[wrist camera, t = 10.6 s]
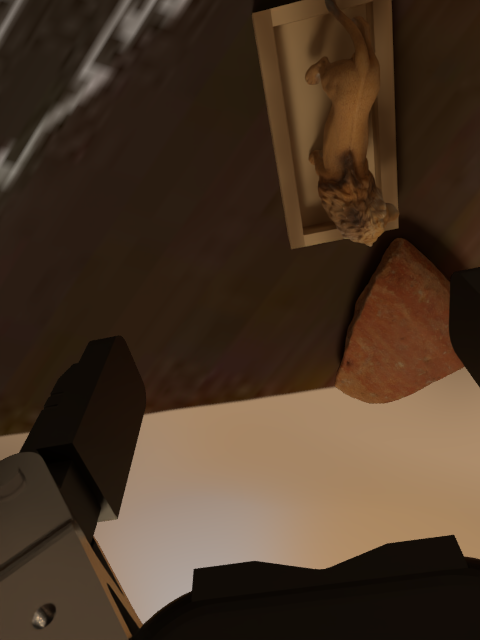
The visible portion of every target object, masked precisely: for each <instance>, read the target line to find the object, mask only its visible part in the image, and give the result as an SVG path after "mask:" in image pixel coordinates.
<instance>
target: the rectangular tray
mask: <svg viewBox="0 0 480 640" xmlns="http://www.w3.org/2000/svg"><path fill="white" fill-rule="evenodd" d="M335 1H336V4H337V6H338V8H339V9H340V10H341V11H342V12H343V13H344V14H345V15H346V16H347V17H349V18H350V19H352V18H353V17H355V16H362V17H363V18H364V19H365V20H366V21H367V22H368V24H369V26H370V39H371V46H372V48H373V51H374V53H375V55H376V57H377V59H378V61H379V65H380V90H379V93H378V95H377V97H376V99H375V101H374V103H373V105H372V107H371V110H370V112H369V117H368V124H369V142H368V149H367V154H366V158H367V160H368V166H369V170H370V172H371V173H372V174H373V177H374V179H375V184H376V187H378V188H379V189H381V191H382V195H383V200H384V202H385V203H391V204H393V205H394V206H395V207H396V209H397V210H398V194H397V161H396V129H395V96H394V63H393V31H392V0H335ZM252 20H253V26H254V32H255V38H256V44H257V50H258V56H259V62H260V69H261V75H262V81H263V87H264V93H265V99H266V105H267V111H268V117H269V123H270V129H271V135H272V141H273V147H274V153H275V159H276V165H277V171H278V177H279V183H280V189H281V195H282V201H283V207H284V213H285V219H286V225H287V231H288V237H289V242H290V246H291V249H294V248H300V247H305V246H310V245H315V244H320V243H325V242H330V241H335V240H341V239H345V238H343V236H342V234H341V232H340V231H339V230H338V229H337V228H336V224H335V223H334V221H333V220H332V219H331V218H330V217H329V216H328V214H327V212H326V210H325V209H324V207H323V206H322V204H321V198H320V197H319V193H318V181H319V176H318V175H317V174H316V171H315V165H312V164H311V163H310V162H309V155H310V154H311V153H312V152H313V151H314V150H322V151H323V140H324V128H325V124H326V121H327V118H328V115H329V113H330V110H331V106H332V100H331V99H330V98H329V97H328V95H327V93H326V92H325V91H324V90H323V88H322V84H321V81H320V82H319V84H317V85H309V84H308V83H307V82H306V80H305V74H306V72H307V70H308V69H309V67H310V66H312V65H313V64H315V63H317V62H318V61H319V60H320V59H321V58H322V57H324V56H325V57H328V59H329V62H330V63H332V62H335V61H338V60H342V59H351V57H352V55H353V54H354V53H355V48H354V44H353V41H352V39H351V37H350V36H349V33H348V32H347V30H346V29H345V27H344V26H343V25H342V24H341V23H340V22H339V21H338V20H336V19H335V17H334V16H332V15H331V14H330V13H329V11H328V9H327V7H326V5H325V0H302V1H298V2H294V3H291V4H287V5H283V6H279V7H275V8H271V9H267V10H264V11H260V12H256V13H252ZM397 228H399V226H398V218H397V219H396V220H395V221H392V222H389V223H387V225H386V227H385V230H384V231H387V230H392V229H397Z"/></svg>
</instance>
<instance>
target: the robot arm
mask: <svg viewBox="0 0 480 640" xmlns="http://www.w3.org/2000/svg"><path fill="white" fill-rule="evenodd" d="M449 336H450V341H451V344H452V347H453V349H454V352H455V353H456V355H457V356H458V358H459V359H460V360H461V362H462V363H463V365H464V366H465V367H466V369H467V370H468V372H469V373H470V374H471V376H472V377H473V379H474V380H475V381H476V383H477V384H478V386H479V387H480V267H478V268H473V269H468V270H462V271H457V272H454V273H453V274H452V276H451V280H450V302H449ZM145 407H146V392H145V387H144V383H143V381H142V378H141V376H140V374H139V371H138V369H137V367H136V364H135V362H134V360H133V357H132V355H131V353H130V350H129V348H128V346H127V344H126V341H125V340H124V338H123V337H121V336H114V337H109V338H104V339H98V340H93V341H90V342H89V343H88V345H87V347H86V349H85V351H84V353H83V355H82V357H81V359H80V361H79V363H76V364H73V365H72V366H71V367H70V368H69V369H68V370H67V371H66V372H65V373H64V374H63V375H62V376H61V377H60V378H59V379H58V381H57V383H56V384H55V386H54V388H53V390H52V392H51V397H49V398H48V399H47V401H46V403H45V405H44V410H42V411H41V413H40V414H39V416H38V418H37V420H36V422H35V424H34V426H33V428H32V430H31V431H30V433H29V435H28V437H27V439H26V441H25V443H24V445H23V446H22V448H21V450H20V452H19V453H18V454H14V455H12V456H9V457H7V458H5V459H3V460H1V461H0V640H480V559H476V558H470V557H464V556H463V554H462V551H461V549H460V547H459V545H458V542H457V540H456V538H455V536H454V535H449V536H442V537H434V538H426V539H419V540H411V541H404V542H396V543H388V544H385V545H383V546H380V547H378V548H376V549H373V550H371V551H368V552H366V553H363V554H361V555H359V556H356V557H354V558H351V559H349V560H346V561H344V562H342V563H339V564H337V565H335V566H332V567H330V568H326V569H320V570H319V569H310V568H302V567H295V566H288V565H280V564H273V563H265V562H259V561H251V562H243V563H236V564H228V565H220V566H214V567H206V568H198V569H194V574H193V585H192V591H191V592H189V593H187V594H184V595H182V596H181V597H179V598H177V599H175V600H174V601H172V602H170V603H169V604H167V605H166V606H165V607H163V608H162V609H161V610H159V611H158V612H157V613H155V614H154V615H153V616H152V617H151V618H150V619H149V620H148V621H147V622H145V623H144V624H142V623H141V621H140V619H139V618H138V616H137V614H136V613H135V611H134V609H133V607H132V606H131V604H130V602H129V600H128V598H127V596H126V594H125V592H124V591H123V589H122V587H121V585H120V583H119V581H118V579H117V578H116V576H115V574H114V572H113V570H112V568H111V566H110V564H109V563H108V561H107V559H106V557H105V555H104V553H103V551H102V550H101V548H100V546H99V544H98V542H97V541H96V539H95V538H94V536H93V535H94V532H95V528H96V525H97V522H102V521H109V520H116V519H118V515H119V511H120V507H121V503H122V499H123V495H124V491H125V487H126V483H127V479H128V474H129V471H130V467H131V462H132V459H133V455H134V451H135V447H136V443H137V439H138V435H139V431H140V427H141V423H142V419H143V415H144V411H145Z"/></svg>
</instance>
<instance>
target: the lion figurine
mask: <svg viewBox="0 0 480 640" xmlns="http://www.w3.org/2000/svg"><path fill="white" fill-rule="evenodd" d="M325 5H326V7H327V9H328V11H329V13H330V14H331V15H332V16H334V17H335V19H336V20H338V21H339V22H340V23H341V24H342V25H343V26H344V27H345V29H346V30H347V32H348V33H349V36H350V37H351V39H352V41H353V44H354V48H355V53H354V54H353V55H352V57H351V59H342V60H338V61H335V62H332V63H330V62H329V59H328V57H325V56H324V57H322V58H321V59H320V60H319V61H318V62H317V63H315V64H313V65H312V66H310V67H309V69H308V70H307V72H306V74H305V80H306V82H307V83H308V84H309V85H317V84H319V82H320V81H321V84H322V88H323V90H324V91H325V92H326V93H327V95H328V97H329V98H330V99H331V100H332V106H331V110H330V113H329V115H328V118H327V121H326V124H325V128H324V140H323V151H322V150H314V151H313V152H312V153H311V154H310V155H309V162H310V163H311V164H312V165H315V171H316V174H317V175H318V176H319V181H318V193H319V197H320V198H321V204H322V206H323V207H324V209H325V210H326V212H327V214H328V216H329V217H330V218H331V219H332V220H333V221H334V223H335V224H336V228H337V229H338V230H339V231H340V232H341V234H342V236H343V238H345V239H350V240H351V241H353V242H359V243H365V244H366V245H368V246H372V244H373V242H375V241H376V240H377V237H379V236H380V235H381V234H382V233H383V232H384V230H385V227H386V225H387V223H389V222H392V221H395V220H396V219H397V218H398V216H399V211H398V210H397V209H396V207H395V206H394V205H393V204H391V203H385V202H384V200H383V195H382V191H381V189H379V188H378V187H376V184H375V179H374V177H373V174H372V173H371V172H370V170H369V166H368V160H367V158H366V154H367V149H368V142H369V124H368V117H369V112H370V110H371V107H372V105H373V103H374V101H375V99H376V97H377V95H378V93H379V90H380V65H379V61H378V59H377V57H376V55H375V53H374V51H373V48H372V46H371V39H370V26H369V24H368V22H367V21H366V20H365V19H364V18H363V17H362V16H355V17H353V18H352V19H350V18H349V17H347V16H346V15H345V14H344V13H343V12H342V11H341V10H340V9H339V8H338V6H337V4H336V1H335V0H325Z"/></svg>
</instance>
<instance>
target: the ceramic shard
mask: <svg viewBox="0 0 480 640" xmlns="http://www.w3.org/2000/svg"><path fill="white" fill-rule="evenodd" d="M449 302H450V282H449V281H448V280H447V279H446V278H445V276H444V275H443V274H442V273H441V272H440V271H439V270H438V269H437V268H436V267H435V266H434V264H433V263H432V262H431V261H430V260H429V259H428V258H426V257H425V256H424V255H423V254H422V253H421V252H420V251H419V250H417V249H416V248H415V246H413V245H412V244H411V243H410V242H408V241H407V240H405V239H403V238H396V239H395V240H394V241H392V242H391V244H390V246H389V247H388V248H387V249H386V251H385V253H384V255H383V257H382V259H381V262H380V264H379V265H378V267H377V269H376V271H375V273H374V274H373V275H372V276H371V278H370V281H369V283H368V285H367V286H366V287H365V288H364V290H363V292H362V293H361V294H360V296H359V298H358V299H357V302H356V304H355V311H354V316H353V319H352V321H351V323H350V325H349V327H348V330H347V336H346V341H345V352H344V356H343V359H342V362H341V364H340V366H339V368H338V371H337V374H336V379H335V386H336V388H338V389H340V390H341V391H342V392H343V393H345V394H347V395H349V396H351V397H353V398H356V399H359V400H361V401H364V402H367V403H388V402H392V401H395V400H399V399H401V398H403V397H406V396H408V395H411V394H413V393H415V392H417V391H418V390H421V389H422V388H424V387H426V386H428V385H429V384H431V383H432V382H435V381H438V380H440V379H442V378H443V377H445V376H447V375H449V374H452V373H453V372H455V371H457V370H460V369H461V368H463V367H465V366H464V365H463V363H462V362H461V360H460V359H459V358H458V356H457V355H456V353H455V352H454V349H453V347H452V344H451V341H450V336H449Z"/></svg>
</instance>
